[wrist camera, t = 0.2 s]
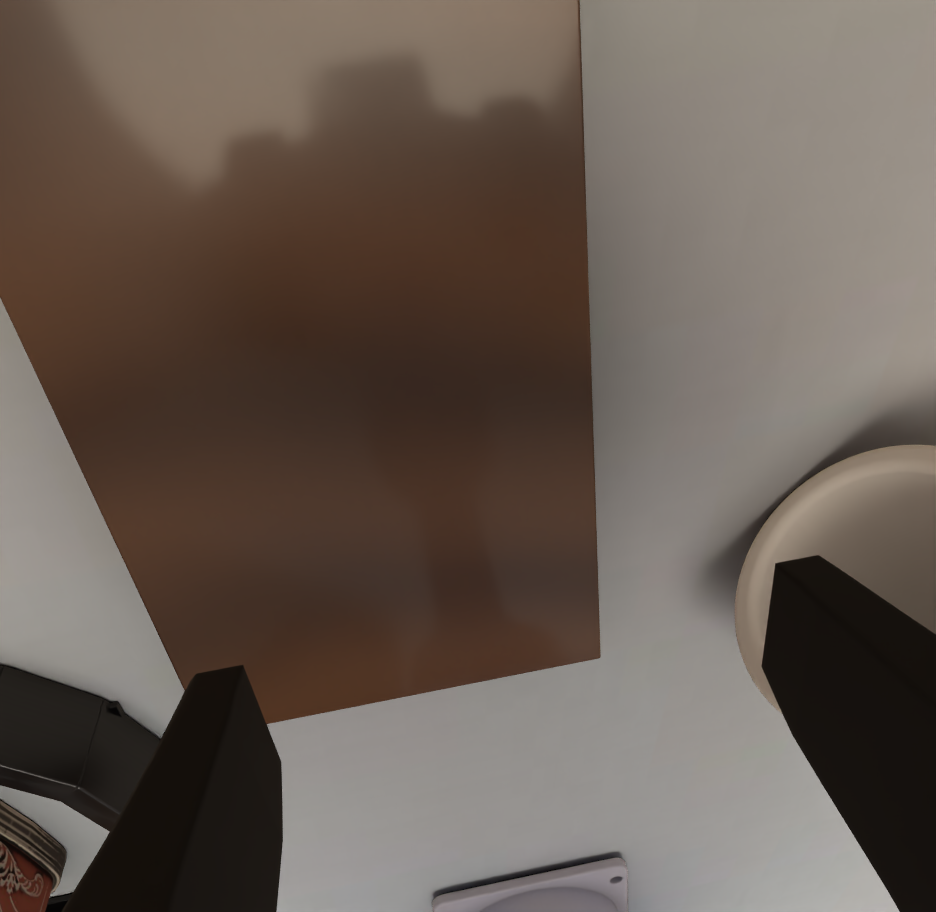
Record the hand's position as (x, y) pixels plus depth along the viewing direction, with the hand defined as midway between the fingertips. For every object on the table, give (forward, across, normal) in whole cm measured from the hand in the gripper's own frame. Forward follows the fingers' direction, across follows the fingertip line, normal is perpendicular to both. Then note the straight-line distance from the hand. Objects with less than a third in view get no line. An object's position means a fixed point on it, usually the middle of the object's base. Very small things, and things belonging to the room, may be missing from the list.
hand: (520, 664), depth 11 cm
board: (+10, +2, +1) cm, 10 cm away
